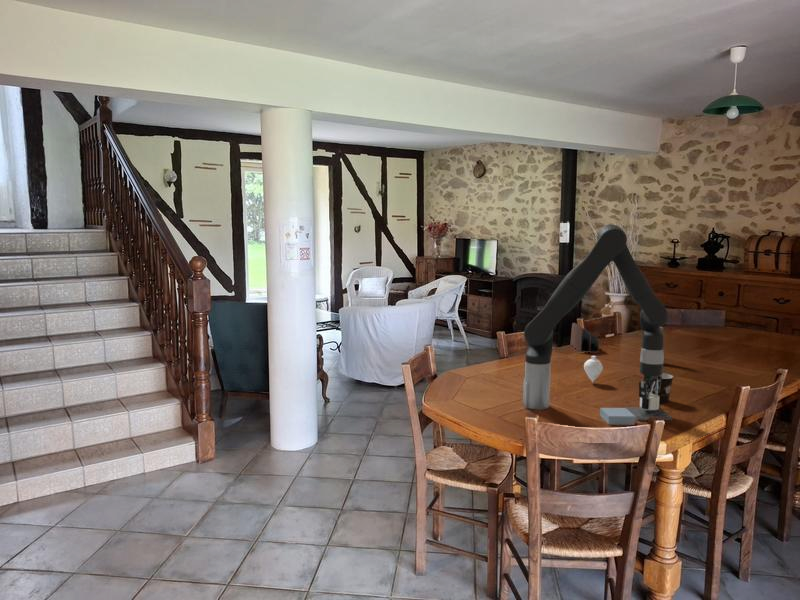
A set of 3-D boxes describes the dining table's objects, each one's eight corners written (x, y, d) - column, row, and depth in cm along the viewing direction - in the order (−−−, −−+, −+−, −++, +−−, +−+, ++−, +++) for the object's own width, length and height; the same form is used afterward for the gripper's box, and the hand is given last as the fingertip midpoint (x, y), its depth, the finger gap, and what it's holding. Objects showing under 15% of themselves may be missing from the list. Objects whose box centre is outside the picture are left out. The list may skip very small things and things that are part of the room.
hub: (637, 420, 199) (637, 406, 198) (626, 411, 208) (627, 397, 208) (671, 420, 198) (672, 406, 198) (659, 411, 208) (660, 398, 208)
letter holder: (580, 353, 302) (581, 327, 300) (570, 345, 322) (571, 321, 320) (599, 353, 302) (600, 327, 300) (587, 345, 322) (588, 321, 320)
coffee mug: (664, 397, 225) (666, 372, 224) (675, 403, 217) (677, 378, 216) (635, 397, 225) (637, 372, 224) (645, 404, 217) (647, 378, 215)
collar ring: (654, 411, 199) (654, 399, 199) (637, 407, 204) (637, 395, 203) (661, 407, 203) (661, 395, 203) (644, 403, 208) (645, 392, 207)
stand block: (608, 424, 194) (608, 416, 194) (599, 415, 203) (600, 407, 203) (634, 424, 194) (635, 416, 194) (625, 416, 203) (625, 408, 203)
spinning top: (589, 386, 241) (591, 358, 239) (579, 381, 248) (580, 354, 246) (605, 384, 243) (606, 357, 241) (594, 380, 250) (596, 353, 248)
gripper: (653, 366, 194) (651, 413, 196) (670, 359, 203) (667, 404, 206) (632, 362, 199) (629, 408, 201) (649, 356, 209) (647, 400, 211)
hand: (649, 406), depth 203 cm, fingers closed on collar ring, 6 cm apart
